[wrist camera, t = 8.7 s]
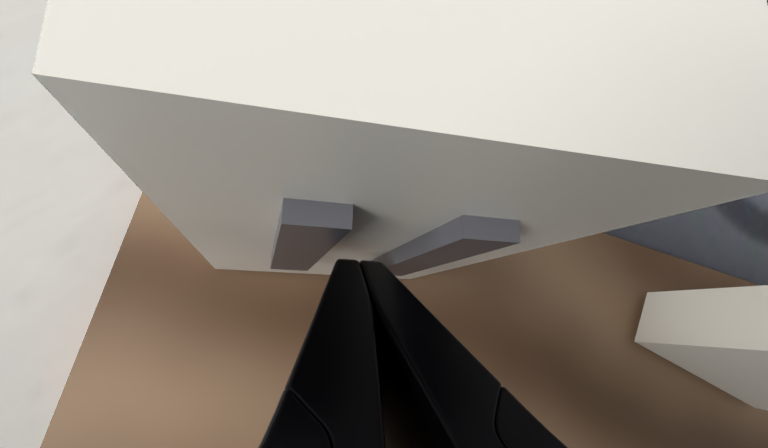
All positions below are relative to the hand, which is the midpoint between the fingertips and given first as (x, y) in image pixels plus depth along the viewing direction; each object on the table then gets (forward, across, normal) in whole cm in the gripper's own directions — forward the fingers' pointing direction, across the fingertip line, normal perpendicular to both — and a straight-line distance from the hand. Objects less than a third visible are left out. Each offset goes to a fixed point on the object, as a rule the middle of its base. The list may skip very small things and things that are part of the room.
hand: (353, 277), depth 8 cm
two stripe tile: (+5, 0, +3) cm, 6 cm away
